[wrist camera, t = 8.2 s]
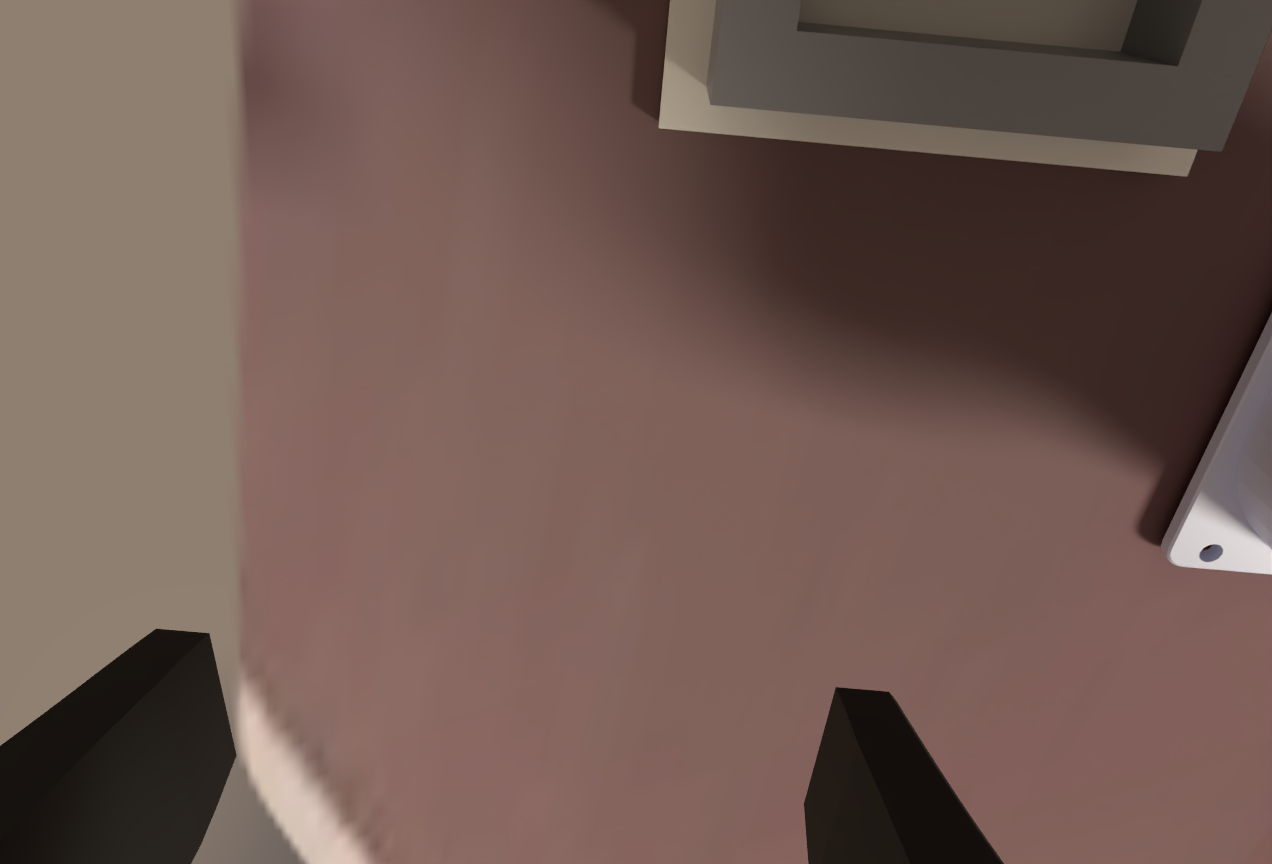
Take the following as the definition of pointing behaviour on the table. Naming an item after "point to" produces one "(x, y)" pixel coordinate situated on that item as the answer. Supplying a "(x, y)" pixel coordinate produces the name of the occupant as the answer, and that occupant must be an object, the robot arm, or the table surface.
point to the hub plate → (970, 75)
